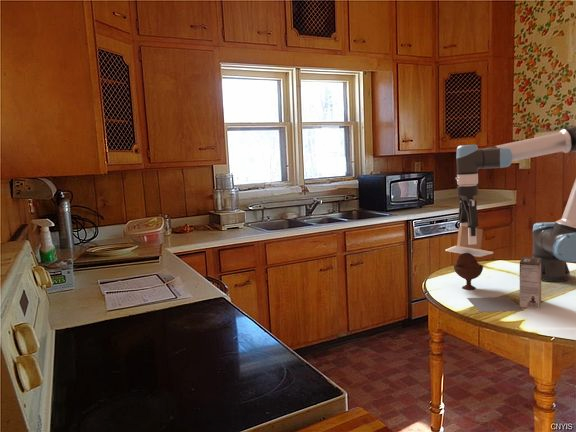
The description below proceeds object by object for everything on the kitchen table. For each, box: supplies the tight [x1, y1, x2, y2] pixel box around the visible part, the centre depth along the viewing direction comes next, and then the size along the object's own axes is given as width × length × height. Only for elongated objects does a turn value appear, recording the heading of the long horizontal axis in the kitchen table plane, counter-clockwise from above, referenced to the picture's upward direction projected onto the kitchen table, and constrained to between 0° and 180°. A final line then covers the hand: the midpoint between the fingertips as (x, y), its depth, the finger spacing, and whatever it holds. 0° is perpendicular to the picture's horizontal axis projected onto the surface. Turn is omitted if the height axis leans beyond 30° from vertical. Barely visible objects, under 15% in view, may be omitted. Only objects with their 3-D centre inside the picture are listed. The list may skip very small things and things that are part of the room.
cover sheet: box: [445, 226, 494, 258], centre depth 173 cm, size 14×14×10 cm
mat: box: [466, 296, 525, 313], centre depth 155 cm, size 14×14×1 cm
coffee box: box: [519, 256, 542, 310], centre depth 152 cm, size 9×6×16 cm
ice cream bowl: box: [453, 253, 484, 291], centre depth 173 cm, size 11×11×15 cm
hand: (468, 241), depth 171 cm, fingers open, 10 cm apart
